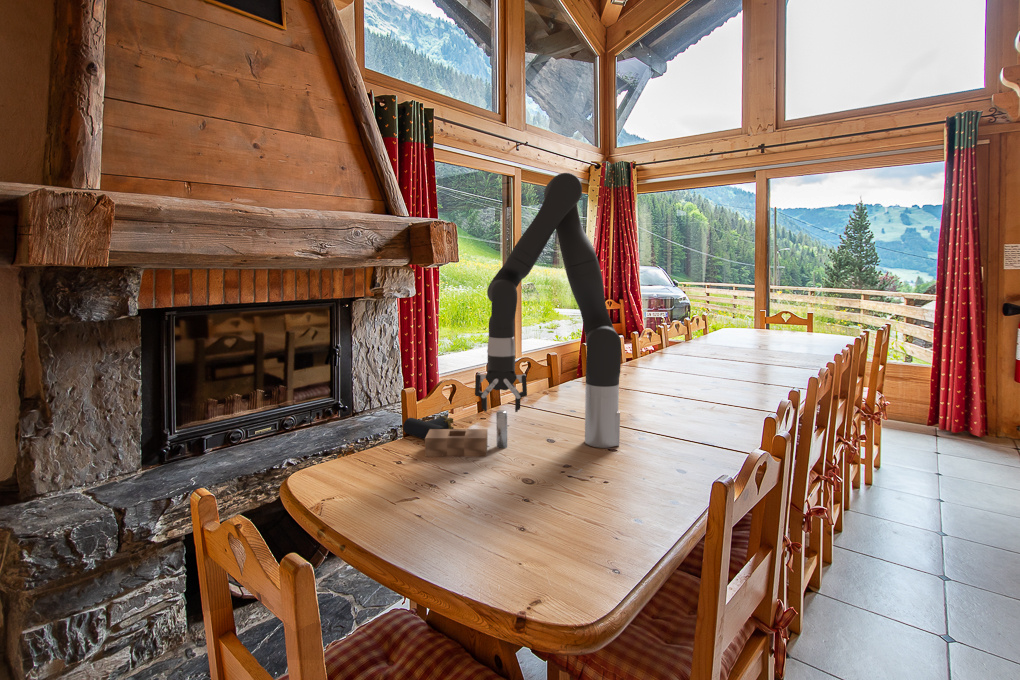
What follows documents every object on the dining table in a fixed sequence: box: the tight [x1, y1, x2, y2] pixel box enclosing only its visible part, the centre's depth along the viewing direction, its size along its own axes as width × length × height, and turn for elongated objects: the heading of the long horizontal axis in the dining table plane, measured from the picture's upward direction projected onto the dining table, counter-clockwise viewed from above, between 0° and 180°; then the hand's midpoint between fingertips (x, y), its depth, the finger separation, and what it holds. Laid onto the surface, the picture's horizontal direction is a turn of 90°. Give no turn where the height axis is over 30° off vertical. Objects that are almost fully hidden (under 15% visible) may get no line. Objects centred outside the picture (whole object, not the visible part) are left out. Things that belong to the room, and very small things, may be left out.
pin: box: [495, 409, 508, 449], centre depth 148 cm, size 3×3×10 cm
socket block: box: [424, 428, 489, 458], centre depth 145 cm, size 16×8×5 cm, turn 90°
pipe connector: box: [402, 415, 455, 440], centre depth 159 cm, size 12×5×15 cm
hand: (500, 411), depth 148 cm, fingers open, 8 cm apart
